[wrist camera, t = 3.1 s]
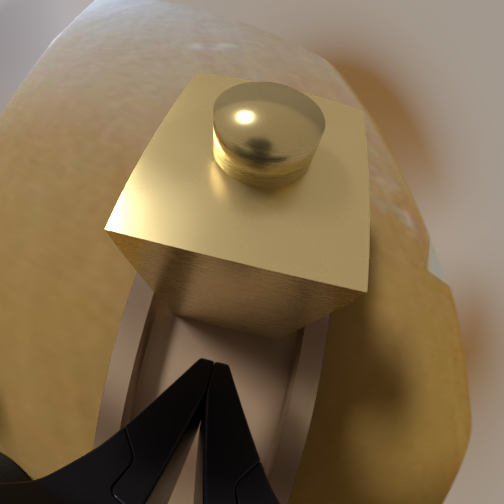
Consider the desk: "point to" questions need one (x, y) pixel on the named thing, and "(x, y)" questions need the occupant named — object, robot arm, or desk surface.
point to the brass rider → (250, 207)
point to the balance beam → (243, 371)
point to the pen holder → (10, 471)
